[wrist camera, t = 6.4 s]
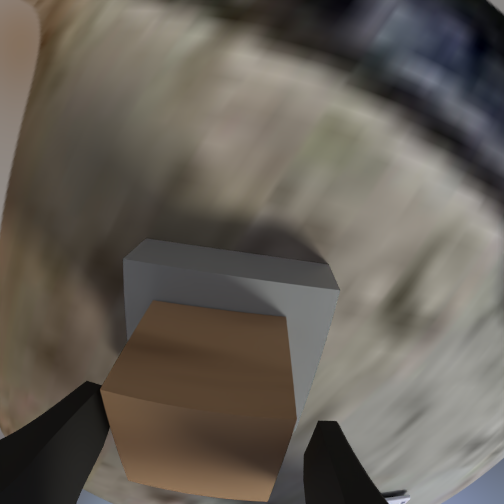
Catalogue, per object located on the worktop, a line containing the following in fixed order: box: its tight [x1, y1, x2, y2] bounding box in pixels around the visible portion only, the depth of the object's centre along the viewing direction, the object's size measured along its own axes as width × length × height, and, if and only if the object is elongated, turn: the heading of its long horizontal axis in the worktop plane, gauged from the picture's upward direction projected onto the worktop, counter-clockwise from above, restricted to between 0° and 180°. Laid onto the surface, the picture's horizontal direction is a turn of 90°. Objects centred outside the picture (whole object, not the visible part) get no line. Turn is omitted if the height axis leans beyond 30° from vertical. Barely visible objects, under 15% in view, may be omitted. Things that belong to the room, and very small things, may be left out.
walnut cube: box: [100, 300, 297, 502], centre depth 10 cm, size 5×5×5 cm
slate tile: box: [123, 238, 340, 432], centre depth 14 cm, size 8×8×3 cm
